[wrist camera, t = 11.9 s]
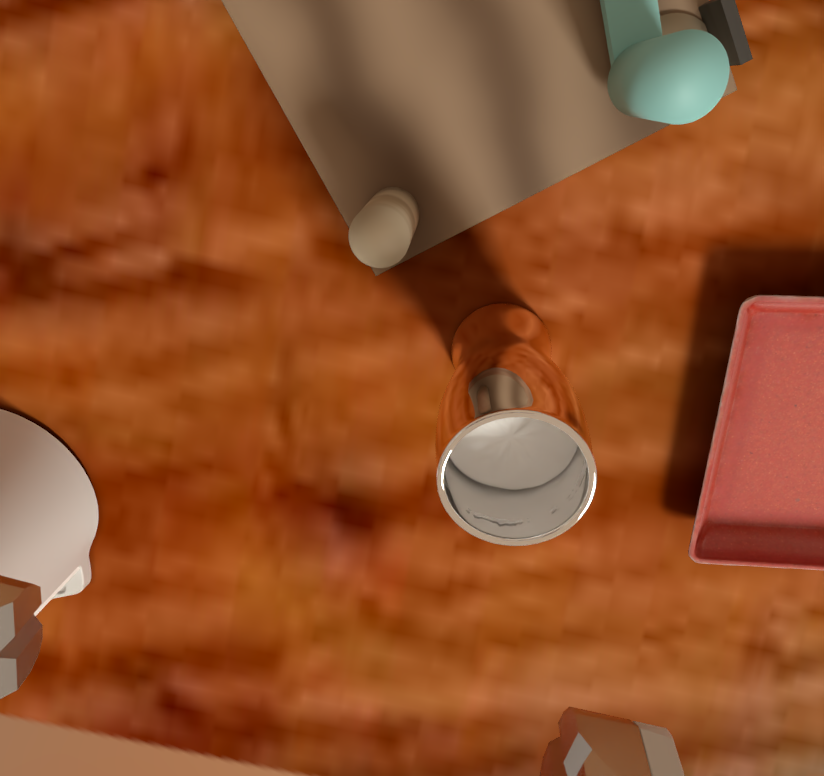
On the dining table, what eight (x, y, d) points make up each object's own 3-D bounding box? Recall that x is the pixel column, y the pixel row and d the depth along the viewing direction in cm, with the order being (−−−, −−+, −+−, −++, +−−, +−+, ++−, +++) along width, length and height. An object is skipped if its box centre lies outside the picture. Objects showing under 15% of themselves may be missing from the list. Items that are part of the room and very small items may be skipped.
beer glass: (481, 274, 39) (486, 375, 25) (581, 330, 40) (638, 457, 26) (424, 368, 42) (401, 505, 28) (518, 419, 43) (541, 575, 29)
